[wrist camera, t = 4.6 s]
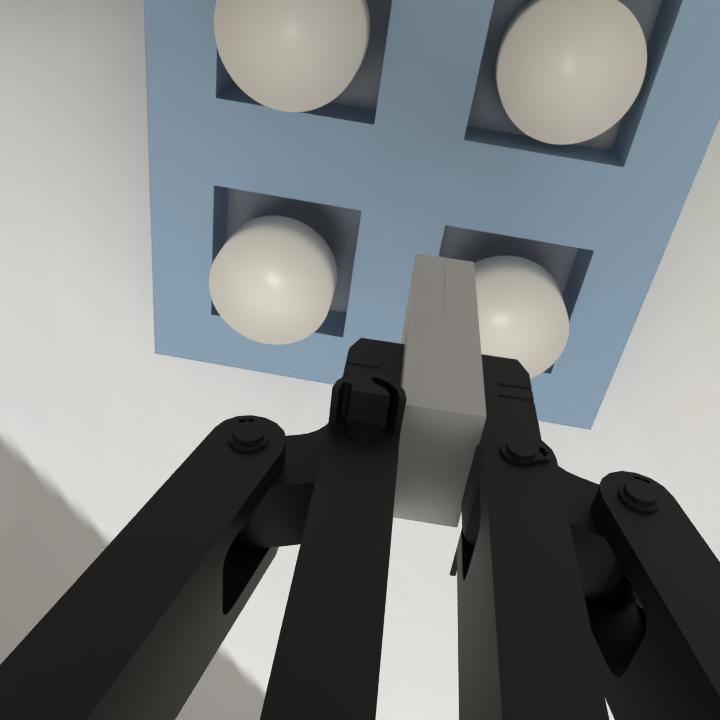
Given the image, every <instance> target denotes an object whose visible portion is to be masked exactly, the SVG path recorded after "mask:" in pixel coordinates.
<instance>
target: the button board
mask: <svg viewBox="0 0 720 720" xmlns="http://www.w3.org/2000/svg"><path fill="white" fill-rule="evenodd" d="M366 1H367V4H368V9H369V15H370V37H369V42H368V47H367V51H366V54H365V57H364V59H363V61H362V63H361V65H360V67H359V69H358V70H357V72H356V74H355V75H354V77H353V79H352V80H351V82H350V83H349V85H348V86H347V87H346V88H345V89H344V91H343V92H342V93H341V94H339V95H338V96H337V97H336V98H335V99H333V100H332V101H331V102H329V103H328V104H325V105H323V106H321V107H319V108H316V109H313V110H310V111H304V112H284V111H279V110H275V109H272V108H269V107H267V106H264V105H262V104H261V103H259V102H257V101H255V100H254V99H252V98H251V97H250V96H248V95H247V94H246V93H245V92H244V91H243V90H242V89H240V87H239V86H238V85H237V84H236V83H235V82H234V81H233V79H232V78H231V76H230V75H229V73H228V72H227V70H226V68H225V66H224V64H223V62H222V60H221V57H220V55H219V52H218V48H217V45H216V40H215V34H214V11H215V5H216V0H144V12H145V44H146V77H147V109H148V141H149V174H150V206H151V238H152V271H153V303H154V335H155V353H156V354H162V355H168V356H173V357H179V358H185V359H190V360H196V361H202V362H207V363H213V364H219V365H225V366H230V367H236V368H242V369H247V370H253V371H259V372H264V373H270V374H276V375H282V376H287V377H293V378H299V379H304V380H310V381H316V382H321V383H327V384H333V385H334V384H335V383H336V381H337V380H338V379H340V378H342V376H343V372H344V368H345V364H346V359H347V355H348V350H349V348H350V347H351V346H352V345H353V344H354V343H355V342H357V341H358V340H359V339H360V338H367V339H373V340H380V341H387V342H393V343H400V342H401V337H402V331H403V325H404V319H405V313H406V307H407V301H408V295H409V289H410V283H411V277H412V271H413V265H414V259H415V253H417V254H424V255H430V256H437V257H444V258H451V259H458V260H464V261H471V262H474V263H475V262H477V261H480V260H483V259H486V258H490V257H494V256H517V257H522V258H526V259H528V260H531V261H533V262H535V263H537V264H539V265H540V266H542V267H543V268H544V269H546V270H547V271H548V272H549V273H550V274H551V275H552V277H553V278H554V279H555V281H556V283H557V284H558V286H559V289H560V292H561V295H562V298H563V301H564V305H565V308H566V311H567V314H568V319H569V336H568V340H567V344H566V346H565V348H564V350H563V352H562V354H561V355H560V357H559V358H558V359H557V360H556V362H555V363H554V364H553V365H551V366H550V367H549V368H548V369H547V370H545V371H544V372H543V373H541V374H539V375H537V376H535V377H533V378H531V379H530V381H531V386H532V390H531V391H532V392H533V397H534V403H535V408H536V413H537V419H538V421H544V422H549V423H555V424H561V425H567V426H572V427H578V428H584V429H589V430H591V427H592V425H593V422H594V420H595V418H596V415H597V413H598V410H599V408H600V406H601V403H602V401H603V398H604V396H605V393H606V391H607V389H608V386H609V384H610V381H611V379H612V377H613V374H614V372H615V369H616V367H617V364H618V362H619V360H620V357H621V355H622V352H623V350H624V348H625V345H626V343H627V340H628V338H629V335H630V333H631V331H632V328H633V326H634V323H635V321H636V319H637V316H638V314H639V311H640V309H641V307H642V304H643V302H644V299H645V297H646V294H647V292H648V290H649V287H650V285H651V282H652V280H653V278H654V275H655V273H656V270H657V268H658V265H659V263H660V261H661V258H662V256H663V253H664V251H665V249H666V246H667V244H668V241H669V239H670V236H671V234H672V232H673V229H674V227H675V224H676V222H677V220H678V217H679V215H680V212H681V210H682V207H683V205H684V203H685V200H686V198H687V195H688V193H689V191H690V188H691V186H692V183H693V181H694V179H695V176H696V174H697V171H698V169H699V166H700V164H701V162H702V159H703V157H704V154H705V152H706V150H707V147H708V145H709V142H710V140H711V137H712V135H713V133H714V130H715V128H716V125H717V123H718V121H719V118H720V0H618V1H619V2H621V3H622V4H623V5H625V6H626V7H627V8H628V9H629V10H630V11H631V13H632V14H633V15H634V16H635V18H636V19H637V21H638V23H639V24H640V27H641V29H642V31H643V34H644V38H645V42H646V49H647V65H646V72H645V76H644V80H643V84H642V86H641V89H640V91H639V93H638V95H637V97H636V99H635V101H634V103H633V104H632V105H631V107H630V108H629V110H628V111H627V112H626V113H625V114H624V116H623V117H622V118H621V119H620V120H619V121H618V122H617V123H615V124H614V125H613V126H612V127H611V128H609V129H608V130H606V131H605V132H603V133H601V134H600V135H598V136H596V137H594V138H591V139H589V140H586V141H583V142H579V143H574V144H565V145H558V144H549V143H545V142H541V141H539V140H536V139H534V138H532V137H530V136H528V135H527V134H525V133H524V132H523V131H521V130H520V129H519V128H518V127H517V126H516V125H515V124H514V123H513V122H512V120H511V119H510V118H509V116H508V115H507V113H506V111H505V109H504V107H503V104H502V101H501V99H500V95H499V92H498V89H497V84H496V80H495V58H496V52H497V48H498V44H499V41H500V39H501V37H502V34H503V32H504V30H505V28H506V27H507V25H508V23H509V22H510V21H511V19H512V18H513V16H514V15H515V14H516V13H517V12H518V11H519V10H520V9H521V8H522V7H523V6H524V5H525V4H526V3H528V2H529V1H530V0H366ZM272 215H277V216H285V217H289V218H293V219H295V220H298V221H300V222H302V223H304V224H306V225H308V226H309V227H311V228H312V229H314V230H315V231H316V232H317V233H318V234H319V235H320V236H321V237H322V238H323V239H324V240H325V242H326V243H327V244H328V246H329V247H330V249H331V251H332V253H333V256H334V258H335V262H336V266H337V284H336V288H335V292H334V295H333V298H332V302H331V305H330V308H329V311H328V314H327V316H326V318H325V320H324V322H323V323H322V324H321V326H320V327H319V328H318V329H317V330H316V331H315V332H314V333H312V334H311V335H310V336H308V337H306V338H304V339H303V340H300V341H297V342H294V343H290V344H283V345H272V344H265V343H260V342H257V341H254V340H251V339H249V338H247V337H245V336H243V335H241V334H240V333H238V332H236V331H235V330H234V329H233V328H231V327H230V326H229V325H228V324H227V323H226V322H225V321H224V320H223V318H222V317H221V316H220V314H219V313H218V311H217V310H216V308H215V306H214V304H213V301H212V298H211V295H210V290H209V274H210V270H211V266H212V264H213V262H214V260H215V258H216V256H217V255H218V253H219V252H220V250H221V249H222V247H223V246H224V244H225V243H226V242H227V240H228V239H229V237H230V236H231V234H232V233H233V232H234V231H235V230H236V229H237V228H238V227H239V226H241V225H242V224H244V223H245V222H247V221H249V220H252V219H254V218H258V217H262V216H272Z"/></svg>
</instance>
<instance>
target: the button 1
mask: <svg viewBox="0 0 720 720" xmlns="http://www.w3.org/2000/svg"><path fill="white" fill-rule="evenodd" d="M336 284H337V266H336V262H335V258H334V256H333V253H332V251H331V249H330V247H329V246H328V244H327V243H326V242H325V240H324V239H323V238H322V237H321V236H320V235H319V234H318V233H317V232H316V231H315V230H314V229H312V228H311V227H309V226H308V225H306V224H304V223H302V222H300V221H298V220H295V219H293V218H289V217H285V216H277V215H272V216H262V217H258V218H254V219H252V220H249V221H247V222H245V223H244V224H242V225H241V226H239V227H238V228H237V229H236V230H235V231H234V232H233V233H232V234H231V236H230V237H229V239H228V240H227V242H226V243H225V244H224V246H223V247H222V249H221V250H220V252H219V253H218V255H217V256H216V258H215V260H214V262H213V264H212V266H211V270H210V274H209V290H210V295H211V298H212V301H213V304H214V306H215V308H216V310H217V311H218V313H219V314H220V316H221V317H222V318H223V320H224V321H225V322H226V323H227V324H228V325H229V326H230V327H231V328H233V329H234V330H235V331H236V332H238V333H240V334H241V335H243V336H245V337H247V338H249V339H251V340H254V341H257V342H260V343H265V344H272V345H283V344H290V343H294V342H297V341H300V340H303V339H304V338H306V337H308V336H310V335H311V334H312V333H314V332H315V331H316V330H317V329H318V328H319V327H320V326H321V324H322V323H323V322H324V320H325V318H326V316H327V314H328V311H329V308H330V305H331V302H332V298H333V295H334V292H335V288H336Z"/></svg>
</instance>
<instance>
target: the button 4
mask: <svg viewBox="0 0 720 720" xmlns="http://www.w3.org/2000/svg"><path fill="white" fill-rule="evenodd" d="M646 65H647V49H646V42H645V38H644V34H643V31H642V29H641V27H640V24H639V23H638V21H637V19H636V18H635V16H634V15H633V14H632V13H631V11H630V10H629V9H628V8H627V7H626V6H625V5H623V4H622V3H621V2H619V1H618V0H530V1H529V2H528V3H526V4H525V5H524V6H523V7H522V8H521V9H520V10H519V11H518V12H517V13H516V14H515V15H514V16H513V18H512V19H511V21H510V22H509V23H508V25H507V27H506V28H505V30H504V32H503V34H502V37H501V39H500V41H499V44H498V48H497V52H496V58H495V80H496V84H497V89H498V92H499V95H500V99H501V101H502V104H503V107H504V109H505V111H506V113H507V115H508V116H509V118H510V119H511V120H512V122H513V123H514V124H515V125H516V126H517V127H518V128H519V129H520V130H521V131H523V132H524V133H525V134H527V135H528V136H530V137H532V138H534V139H536V140H539V141H541V142H545V143H549V144H558V145H565V144H574V143H579V142H583V141H586V140H589V139H591V138H594V137H596V136H598V135H600V134H601V133H603V132H605V131H606V130H608V129H609V128H611V127H612V126H613V125H614V124H615V123H617V122H618V121H619V120H620V119H621V118H622V117H623V116H624V114H625V113H626V112H627V111H628V110H629V108H630V107H631V105H632V104H633V103H634V101H635V99H636V97H637V95H638V93H639V91H640V89H641V86H642V84H643V80H644V76H645V72H646Z"/></svg>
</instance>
